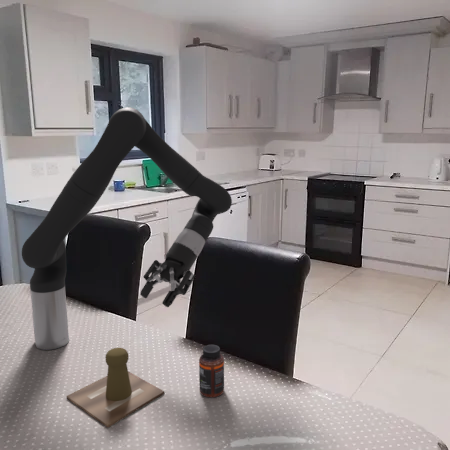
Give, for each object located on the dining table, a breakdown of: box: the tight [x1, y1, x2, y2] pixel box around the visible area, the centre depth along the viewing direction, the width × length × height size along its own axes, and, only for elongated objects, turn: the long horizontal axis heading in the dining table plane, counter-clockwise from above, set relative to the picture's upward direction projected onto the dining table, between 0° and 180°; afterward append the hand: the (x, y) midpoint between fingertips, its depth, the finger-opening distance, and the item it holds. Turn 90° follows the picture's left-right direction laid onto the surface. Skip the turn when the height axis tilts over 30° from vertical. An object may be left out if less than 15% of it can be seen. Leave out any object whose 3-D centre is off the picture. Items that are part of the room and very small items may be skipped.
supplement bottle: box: [198, 344, 225, 398], centre depth 103 cm, size 6×6×11 cm
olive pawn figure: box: [104, 347, 132, 401], centre depth 101 cm, size 6×6×11 cm
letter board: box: [66, 370, 165, 428], centre depth 102 cm, size 16×16×1 cm
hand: (153, 301), depth 111 cm, fingers open, 8 cm apart
